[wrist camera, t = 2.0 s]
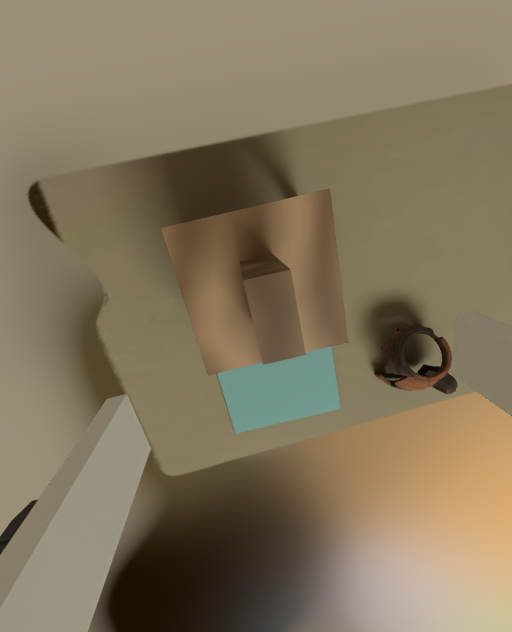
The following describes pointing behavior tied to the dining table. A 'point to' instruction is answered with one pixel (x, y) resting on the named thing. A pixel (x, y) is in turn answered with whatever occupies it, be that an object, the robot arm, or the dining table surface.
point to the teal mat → (280, 390)
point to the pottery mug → (426, 374)
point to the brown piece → (261, 281)
